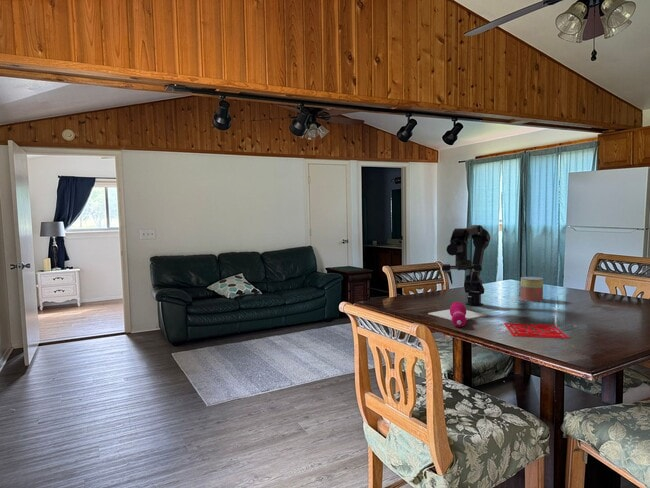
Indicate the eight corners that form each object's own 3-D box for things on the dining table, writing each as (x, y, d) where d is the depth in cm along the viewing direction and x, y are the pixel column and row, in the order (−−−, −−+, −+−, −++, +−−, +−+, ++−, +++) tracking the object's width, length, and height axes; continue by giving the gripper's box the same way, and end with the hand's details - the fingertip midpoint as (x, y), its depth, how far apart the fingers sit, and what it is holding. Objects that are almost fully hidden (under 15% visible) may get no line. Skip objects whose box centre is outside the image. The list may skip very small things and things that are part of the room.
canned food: (544, 298, 239) (544, 277, 239) (541, 302, 230) (542, 280, 229) (521, 297, 245) (522, 276, 245) (518, 300, 236) (519, 278, 235)
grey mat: (457, 308, 219) (457, 308, 219) (486, 315, 203) (486, 314, 203) (427, 314, 209) (427, 313, 209) (456, 321, 193) (456, 320, 193)
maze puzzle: (553, 326, 184) (553, 324, 184) (569, 339, 165) (569, 338, 165) (503, 324, 188) (503, 323, 188) (513, 337, 169) (513, 335, 169)
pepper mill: (468, 304, 198) (471, 319, 179) (461, 318, 200) (463, 334, 181) (453, 298, 200) (454, 312, 181) (446, 311, 202) (447, 326, 183)
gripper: (442, 255, 209) (442, 287, 210) (482, 255, 204) (482, 287, 205) (441, 253, 220) (442, 283, 221) (480, 252, 215) (480, 283, 216)
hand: (461, 284), depth 216 cm, fingers open, 9 cm apart
